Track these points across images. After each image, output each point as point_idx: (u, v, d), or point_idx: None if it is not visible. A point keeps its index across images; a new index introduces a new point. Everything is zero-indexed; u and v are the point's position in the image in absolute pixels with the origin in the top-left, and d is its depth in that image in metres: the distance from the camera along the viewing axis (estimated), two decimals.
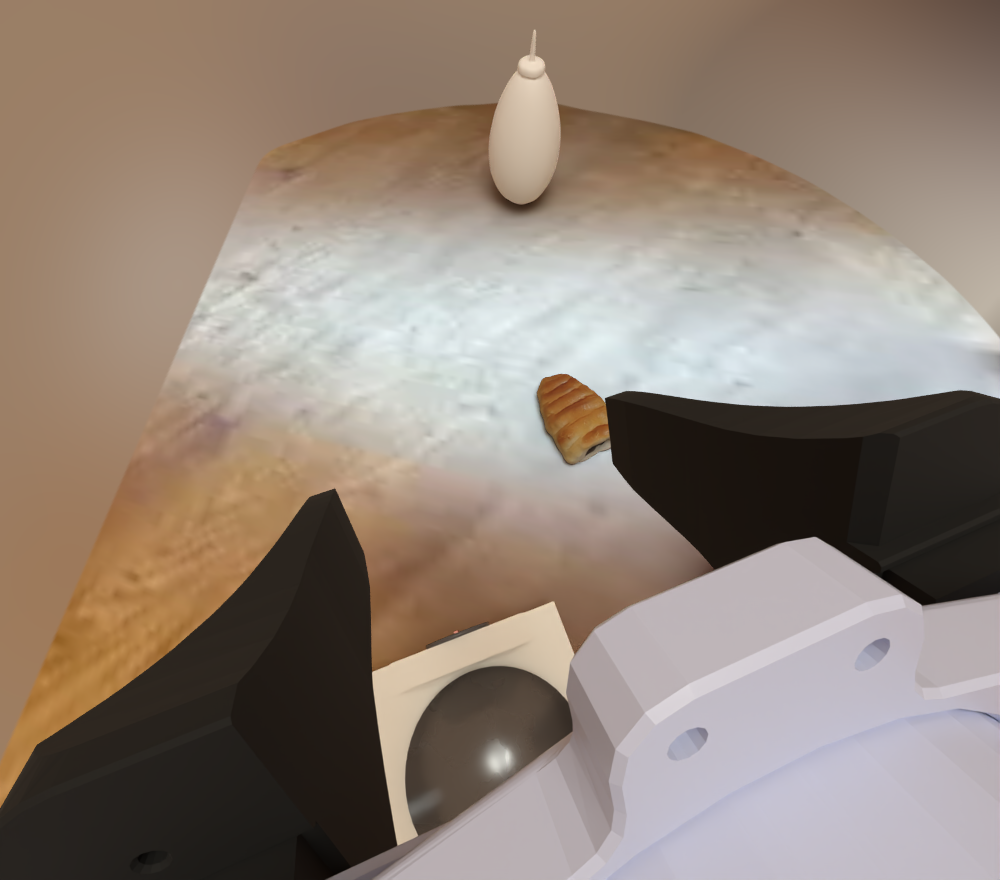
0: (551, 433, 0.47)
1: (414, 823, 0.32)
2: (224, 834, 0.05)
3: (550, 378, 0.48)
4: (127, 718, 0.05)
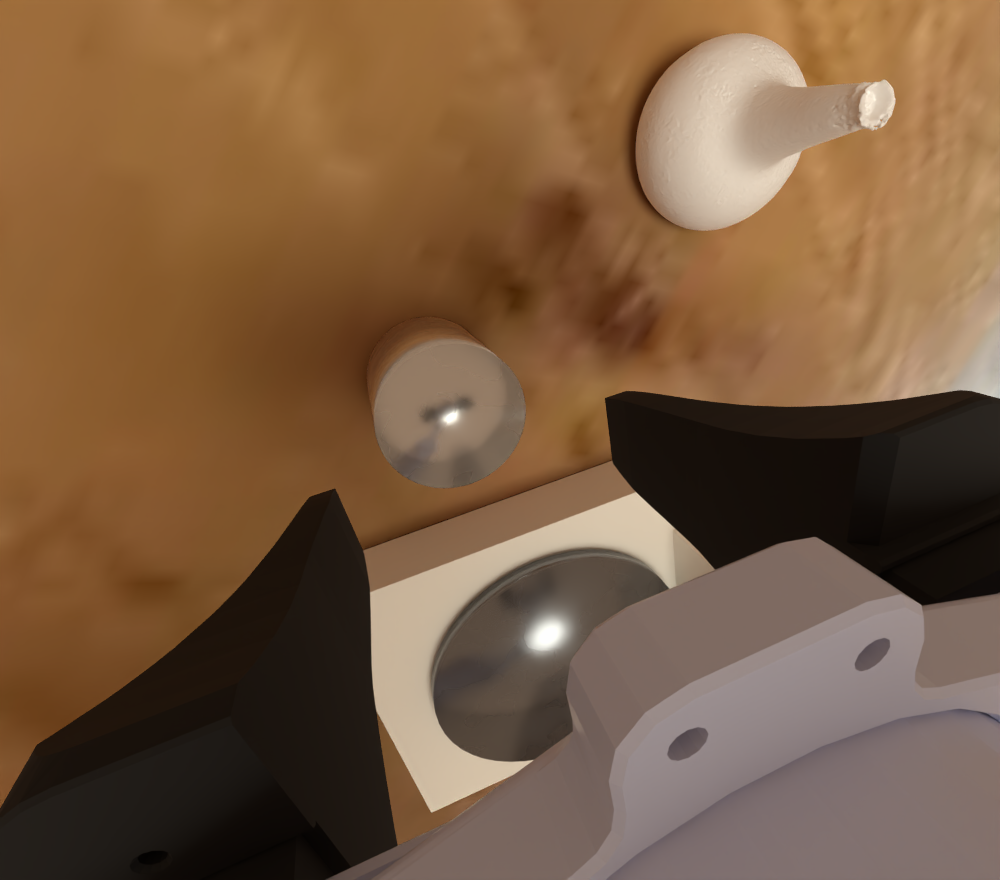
0: None
1: (524, 581, 0.21)
2: (224, 834, 0.05)
3: None
4: (127, 718, 0.05)
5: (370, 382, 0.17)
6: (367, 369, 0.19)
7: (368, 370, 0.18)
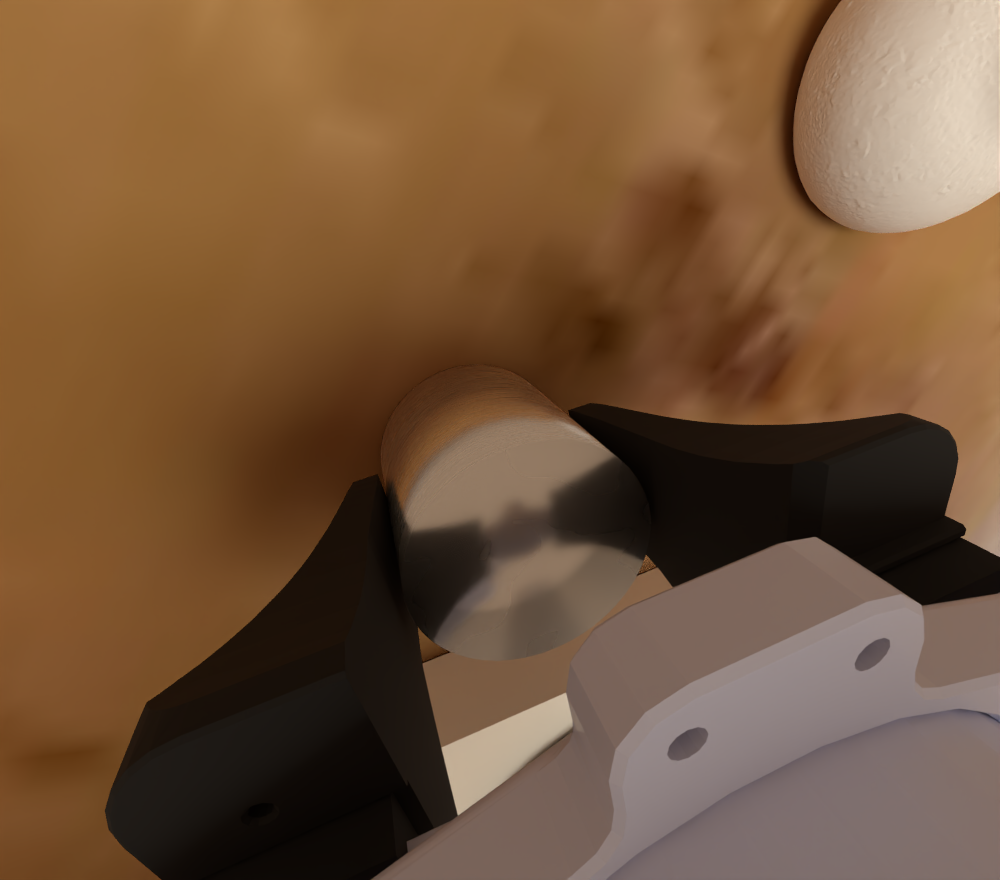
0: None
1: None
2: (327, 789, 0.05)
3: None
4: (236, 676, 0.05)
5: (389, 478, 0.11)
6: (382, 445, 0.12)
7: (384, 450, 0.12)
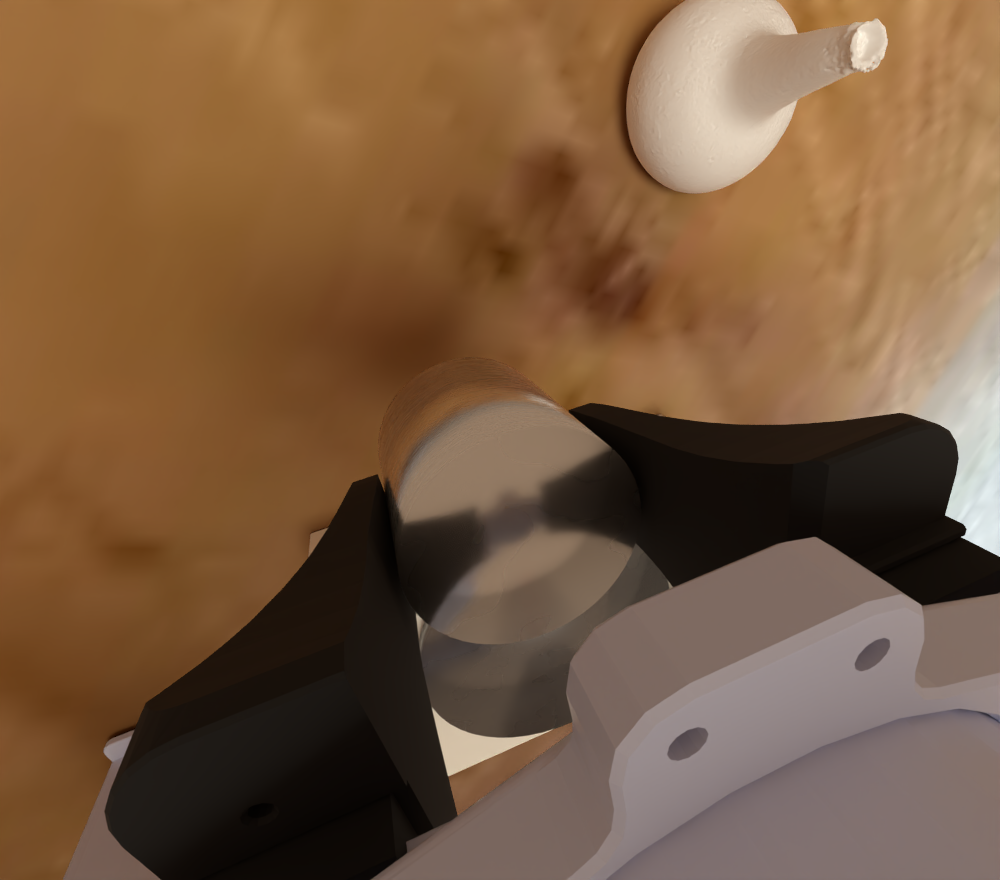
0: None
1: None
2: (327, 789, 0.05)
3: None
4: (236, 676, 0.05)
5: (386, 467, 0.11)
6: (379, 437, 0.13)
7: (381, 441, 0.12)
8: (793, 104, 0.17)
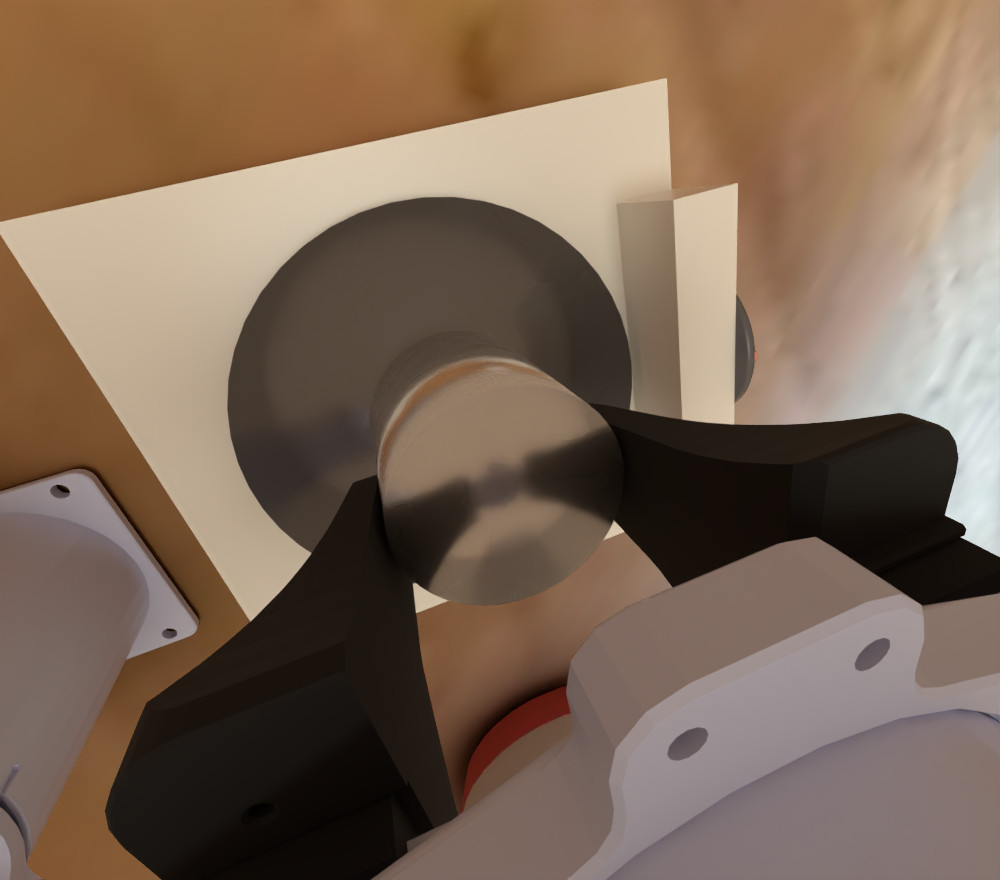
0: None
1: (360, 216, 0.13)
2: (327, 789, 0.05)
3: None
4: (236, 676, 0.05)
5: (375, 440, 0.11)
6: (370, 413, 0.13)
7: (371, 416, 0.12)
8: None
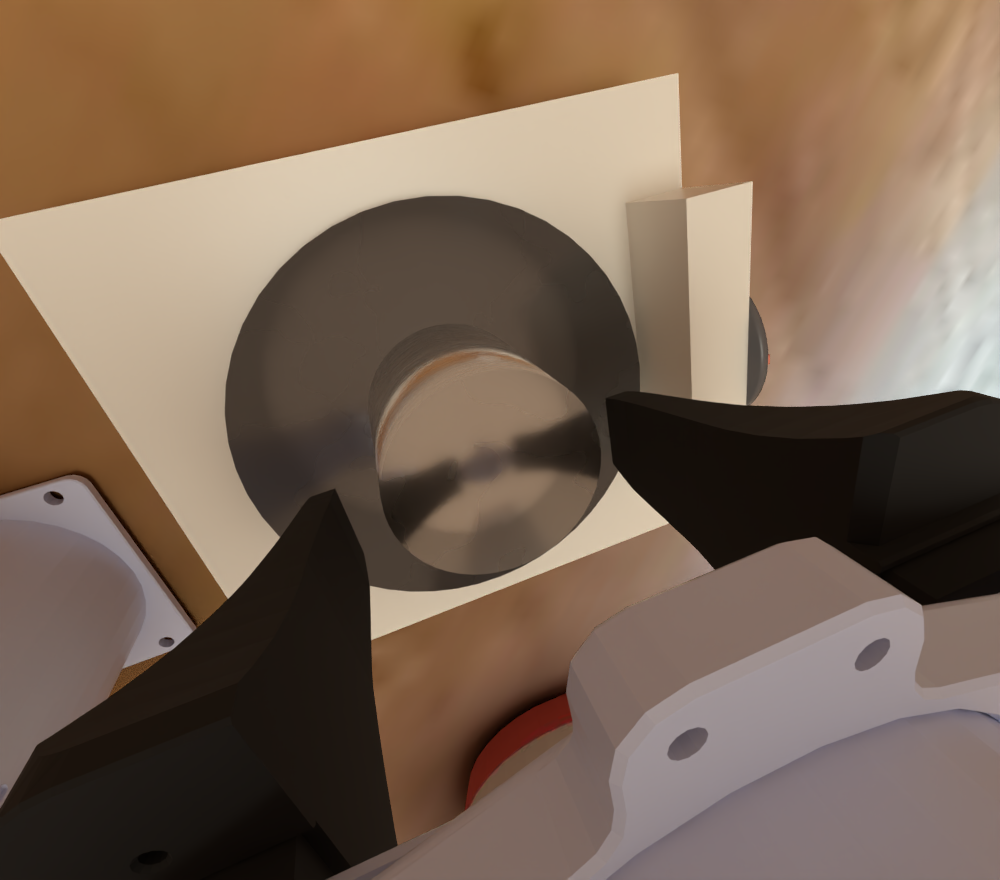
0: None
1: (362, 216, 0.12)
2: (224, 834, 0.05)
3: None
4: (127, 718, 0.05)
5: (372, 423, 0.12)
6: (368, 401, 0.14)
7: (369, 403, 0.13)
8: None
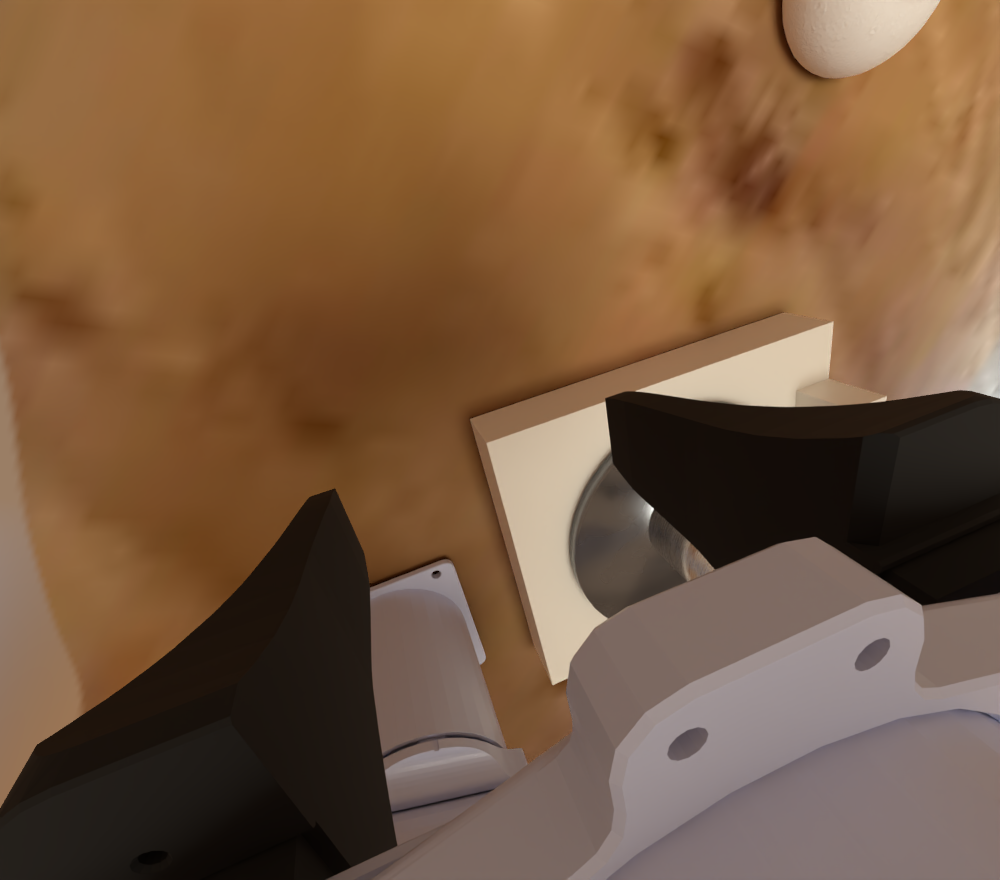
0: None
1: None
2: (224, 834, 0.05)
3: None
4: (127, 718, 0.05)
5: (678, 540, 0.22)
6: (653, 519, 0.23)
7: (660, 523, 0.23)
8: None
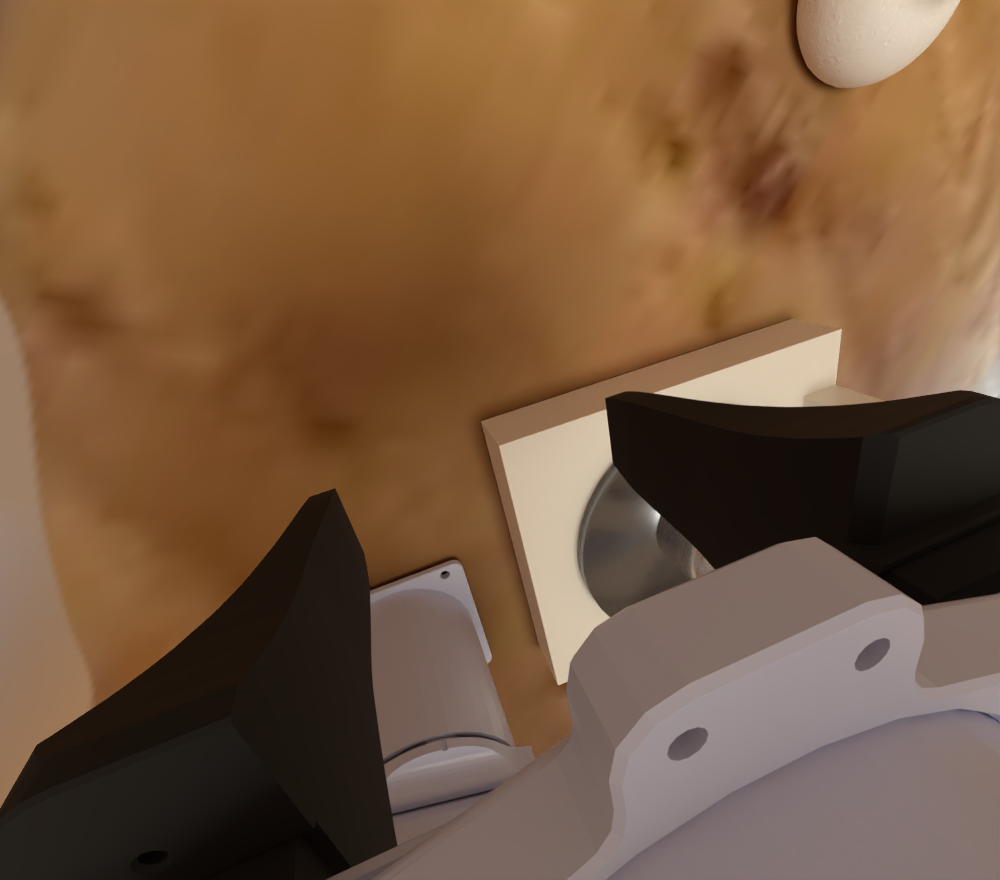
0: None
1: None
2: (224, 834, 0.05)
3: None
4: (127, 718, 0.05)
5: (687, 544, 0.22)
6: (661, 522, 0.24)
7: (668, 526, 0.23)
8: None
